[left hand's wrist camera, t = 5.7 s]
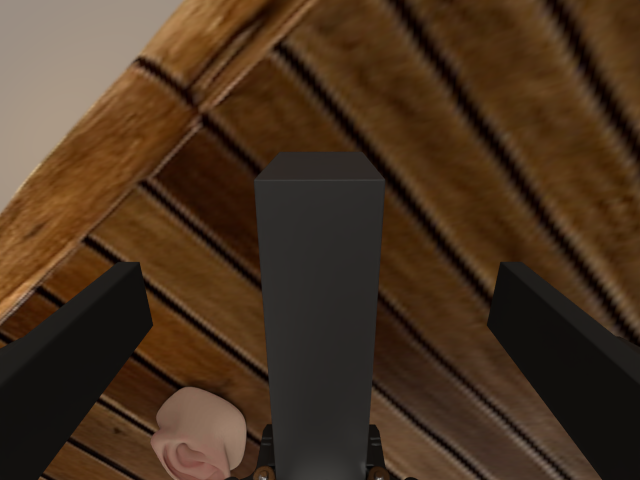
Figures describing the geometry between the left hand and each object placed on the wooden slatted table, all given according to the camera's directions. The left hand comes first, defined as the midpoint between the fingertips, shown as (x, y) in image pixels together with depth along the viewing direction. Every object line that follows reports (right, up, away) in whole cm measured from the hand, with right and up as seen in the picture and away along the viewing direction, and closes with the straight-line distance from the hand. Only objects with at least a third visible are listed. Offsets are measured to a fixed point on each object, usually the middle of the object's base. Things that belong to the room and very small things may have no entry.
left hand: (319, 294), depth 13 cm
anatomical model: (-14, -21, +30) cm, 39 cm away
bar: (0, -3, +12) cm, 12 cm away
